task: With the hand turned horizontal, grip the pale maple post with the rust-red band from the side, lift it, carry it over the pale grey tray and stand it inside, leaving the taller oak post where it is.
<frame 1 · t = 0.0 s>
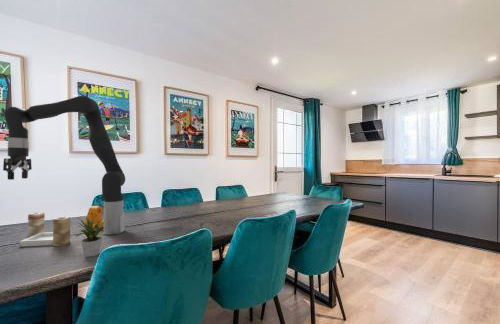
hand: (18, 178, 118), 29 cm above the table, tool pointing down, fingers open, 8 cm apart
maple post: (36, 234, 121), on the table
tray: (46, 241, 111), on the table
bracket: (97, 226, 137), on the table
oak post: (61, 244, 107), on the table
house plant: (87, 255, 95), on the table
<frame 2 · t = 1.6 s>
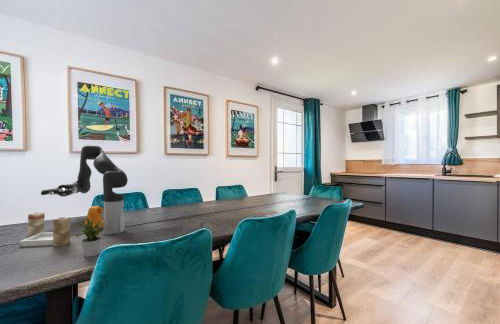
hand: (50, 193, 132), 20 cm above the table, tool horizontal, fingers open, 8 cm apart
nothing on the table moved.
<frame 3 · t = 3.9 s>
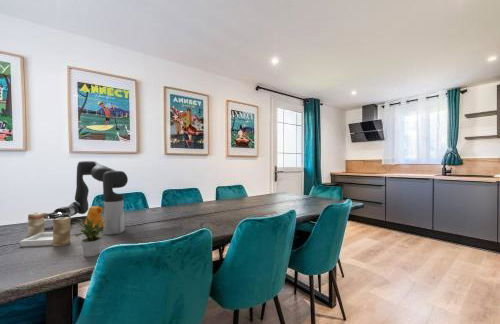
hand: (45, 219, 128), 6 cm above the table, tool horizontal, fingers open, 8 cm apart
nothing on the table moved.
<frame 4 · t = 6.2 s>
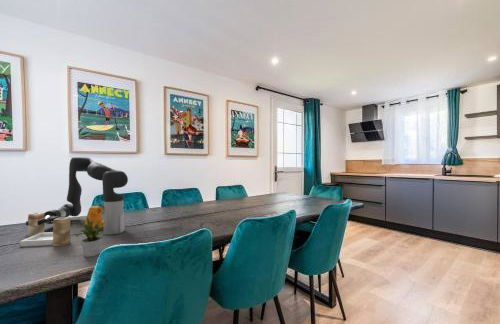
hand: (32, 223, 118), 7 cm above the table, tool horizontal, fingers closed on maple post, 4 cm apart
maple post: (36, 234, 121), on the table, touching gripper
everything else where it was.
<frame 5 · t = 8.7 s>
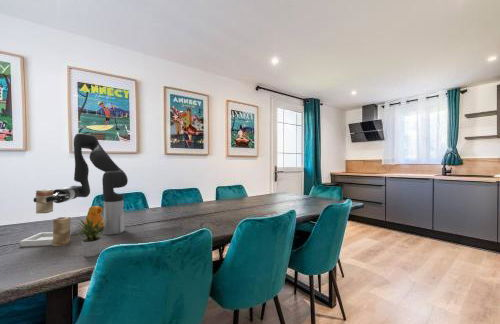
hand: (40, 199, 110), 20 cm above the table, tool horizontal, fingers closed on maple post, 4 cm apart
maple post: (44, 212, 113), point 13 cm above the table, touching gripper
everything else where it was.
when the fingers open (9 cm above the table, at t = 11.5 s): maple post drops 2 cm, resting on tray.
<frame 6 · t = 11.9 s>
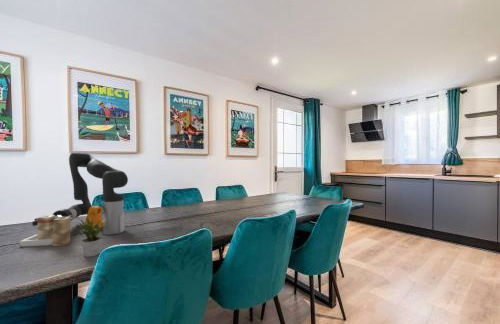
hand: (43, 223, 109), 9 cm above the table, tool horizontal, fingers open, 8 cm apart
maple post: (46, 239, 111), point 1 cm above the table, touching tray
everything else where it was.
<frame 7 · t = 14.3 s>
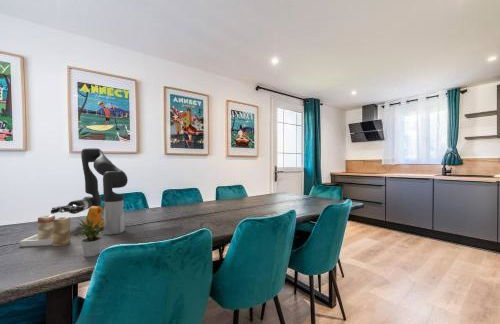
hand: (60, 211, 123), 12 cm above the table, tool horizontal, fingers open, 8 cm apart
nothing on the table moved.
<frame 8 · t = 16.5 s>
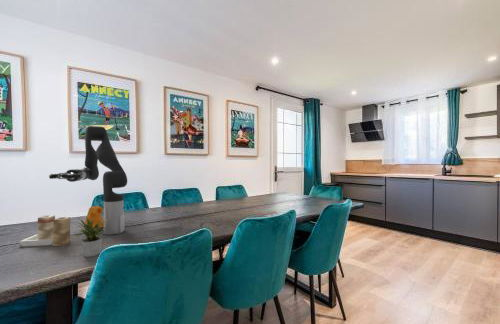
hand: (59, 176, 127), 30 cm above the table, tool horizontal, fingers open, 8 cm apart
nothing on the table moved.
at the end: maple post inside the target area on the tray (0.0 cm from its centre), point 0.8 cm above the tray's base; maple post tilted 0°; the gripper is holding nothing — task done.
